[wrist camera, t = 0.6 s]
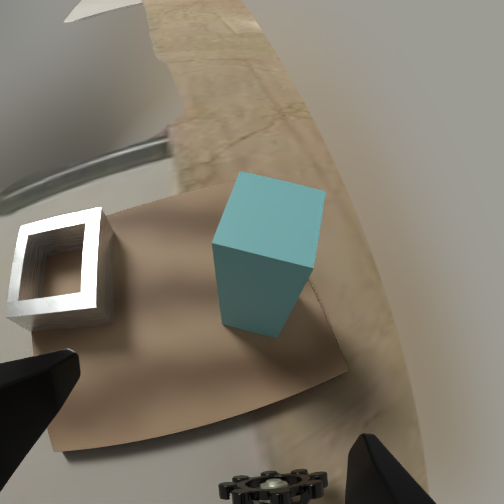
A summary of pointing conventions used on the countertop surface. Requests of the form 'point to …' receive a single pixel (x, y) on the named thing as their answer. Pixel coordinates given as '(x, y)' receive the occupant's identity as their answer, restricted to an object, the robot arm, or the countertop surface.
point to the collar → (92, 280)
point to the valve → (275, 487)
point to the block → (265, 251)
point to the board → (174, 334)
